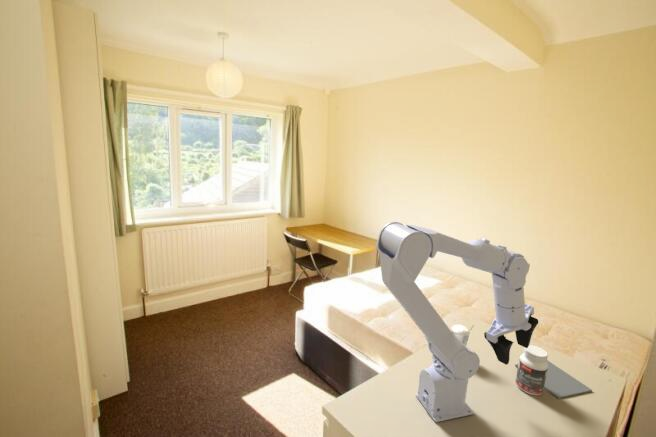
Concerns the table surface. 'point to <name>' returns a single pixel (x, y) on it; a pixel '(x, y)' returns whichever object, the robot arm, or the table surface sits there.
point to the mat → (562, 383)
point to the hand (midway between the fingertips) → (513, 353)
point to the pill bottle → (532, 370)
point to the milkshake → (461, 333)
